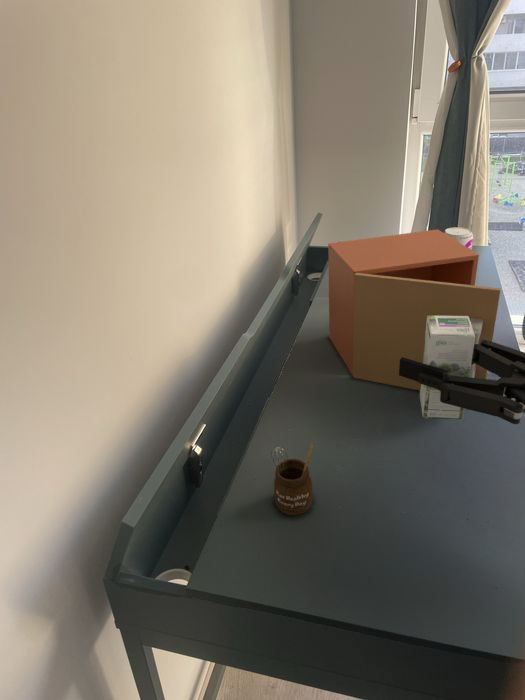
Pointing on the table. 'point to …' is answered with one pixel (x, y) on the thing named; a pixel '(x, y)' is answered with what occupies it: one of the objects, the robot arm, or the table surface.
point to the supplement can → (461, 235)
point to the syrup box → (446, 360)
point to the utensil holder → (293, 485)
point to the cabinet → (390, 272)
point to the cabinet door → (411, 322)
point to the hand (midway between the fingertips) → (413, 354)
